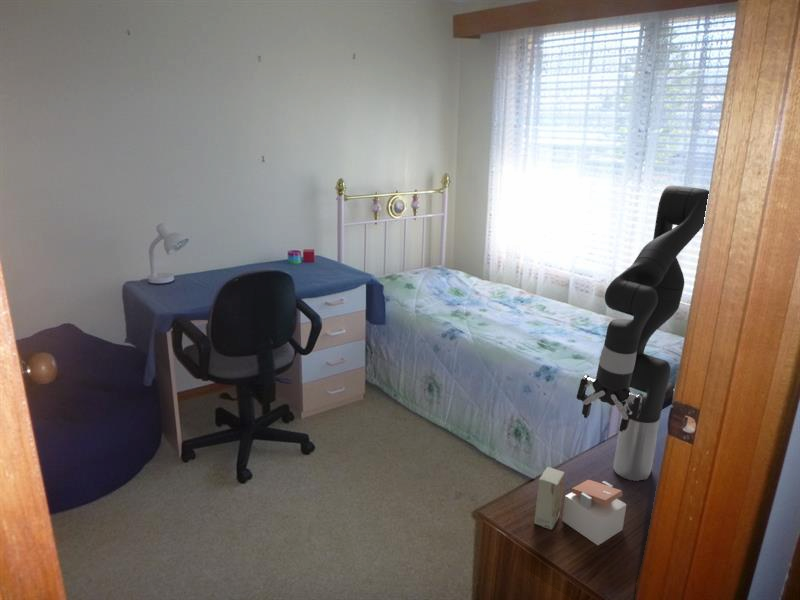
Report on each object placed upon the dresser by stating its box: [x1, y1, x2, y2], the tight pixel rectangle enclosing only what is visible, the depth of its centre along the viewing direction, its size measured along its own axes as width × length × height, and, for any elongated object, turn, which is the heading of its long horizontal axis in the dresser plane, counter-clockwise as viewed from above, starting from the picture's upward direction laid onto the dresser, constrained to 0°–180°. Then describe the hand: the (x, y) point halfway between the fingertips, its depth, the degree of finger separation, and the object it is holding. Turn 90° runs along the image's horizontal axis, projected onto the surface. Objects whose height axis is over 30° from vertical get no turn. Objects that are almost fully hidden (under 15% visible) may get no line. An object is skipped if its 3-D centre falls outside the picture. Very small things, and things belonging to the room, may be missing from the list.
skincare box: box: [534, 466, 565, 530], centre depth 138 cm, size 6×4×12 cm
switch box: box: [561, 480, 627, 546], centre depth 137 cm, size 9×10×10 cm
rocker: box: [571, 479, 623, 505], centre depth 135 cm, size 6×9×2 cm, turn 36°
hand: (603, 423), depth 142 cm, fingers open, 8 cm apart
